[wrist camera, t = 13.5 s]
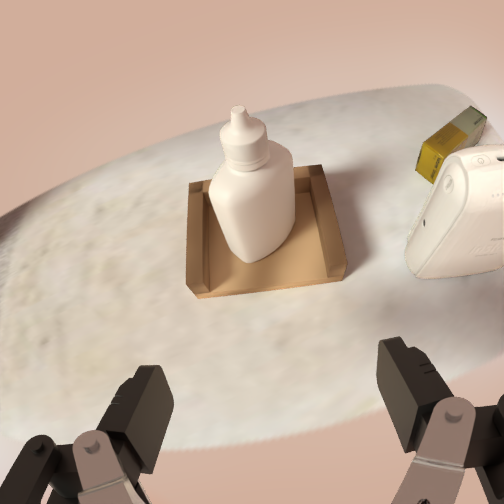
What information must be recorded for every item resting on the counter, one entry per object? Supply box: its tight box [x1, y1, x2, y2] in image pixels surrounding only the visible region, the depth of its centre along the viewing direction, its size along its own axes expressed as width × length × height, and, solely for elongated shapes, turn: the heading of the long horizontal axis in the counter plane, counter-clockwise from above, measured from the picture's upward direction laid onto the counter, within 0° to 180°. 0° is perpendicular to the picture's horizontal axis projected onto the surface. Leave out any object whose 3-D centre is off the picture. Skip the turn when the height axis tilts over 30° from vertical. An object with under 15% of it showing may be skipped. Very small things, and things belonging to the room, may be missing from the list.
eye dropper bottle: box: [209, 105, 295, 263], centre depth 19 cm, size 4×6×12 cm
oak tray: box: [186, 164, 347, 299], centre depth 24 cm, size 11×9×3 cm
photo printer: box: [405, 145, 504, 279], centre depth 17 cm, size 10×4×12 cm, turn 91°
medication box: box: [415, 106, 487, 185], centre depth 26 cm, size 12×3×4 cm, turn 127°
